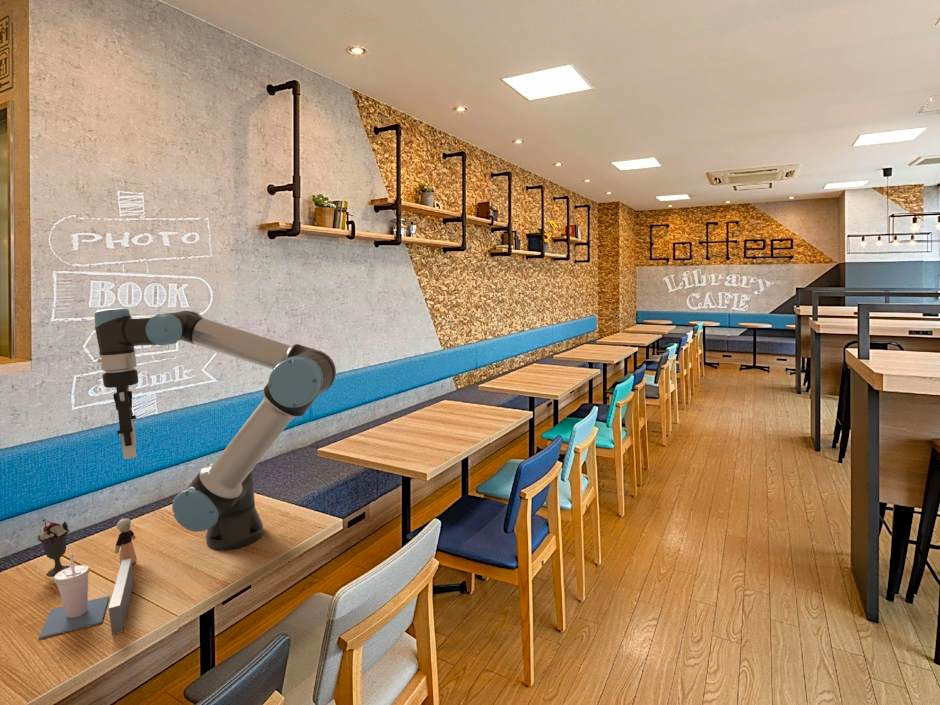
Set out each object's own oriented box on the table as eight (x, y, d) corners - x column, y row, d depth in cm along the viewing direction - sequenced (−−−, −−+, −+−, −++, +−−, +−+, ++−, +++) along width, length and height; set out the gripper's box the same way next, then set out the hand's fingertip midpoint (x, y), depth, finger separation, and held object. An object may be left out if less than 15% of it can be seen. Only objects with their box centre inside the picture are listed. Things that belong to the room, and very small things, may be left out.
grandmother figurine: (131, 571, 140) (125, 524, 138) (114, 573, 139) (108, 526, 137) (142, 556, 147) (137, 511, 146) (126, 558, 146) (121, 513, 145)
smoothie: (75, 623, 118) (66, 562, 116) (52, 620, 119) (43, 559, 118) (101, 605, 124) (93, 547, 122) (78, 603, 126) (70, 545, 124)
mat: (109, 597, 128) (108, 595, 128) (101, 623, 118) (101, 621, 118) (51, 610, 123) (51, 609, 123) (38, 639, 114) (38, 637, 114)
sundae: (38, 580, 136) (30, 523, 134) (46, 567, 142) (39, 513, 140) (70, 574, 139) (63, 518, 137) (77, 562, 145) (70, 508, 143)
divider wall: (133, 581, 135) (131, 558, 134) (123, 631, 116) (119, 605, 115) (124, 583, 134) (121, 560, 133) (111, 634, 115) (108, 608, 114)
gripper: (104, 366, 147) (115, 442, 149) (98, 378, 125) (111, 467, 128) (136, 362, 150) (146, 437, 153) (136, 374, 129) (148, 460, 132)
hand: (130, 451), depth 141 cm, fingers open, 13 cm apart
